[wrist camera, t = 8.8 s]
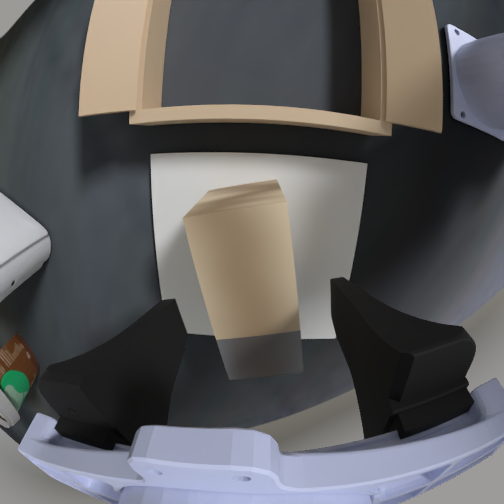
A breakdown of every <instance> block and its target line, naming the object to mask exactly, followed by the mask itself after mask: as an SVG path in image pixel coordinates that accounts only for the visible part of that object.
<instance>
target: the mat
mask: <svg viewBox="0 0 504 504" xmlns="http://www.w3.org/2000/svg"><path fill="white" fill-rule="evenodd" d="M366 172H367V164H366V163H360V162H353V161H345V160H337V159H328V158H319V157H308V156H296V155H283V154H266V153H239V152H185V153H159V154H151V186H152V206H153V221H154V234H155V245H156V255H157V265H158V273H159V281H160V289H161V296H162V300H165V299H176V302H177V305H178V308H179V311H180V314H181V316H182V319H183V322H184V325H185V327H186V330H187V333H190V334H201V335H214V331H213V328H212V325H211V322H210V318H209V315H208V312H207V308H206V305H205V301H204V298H203V294H202V291H201V287H200V284H199V280H198V277H197V273H196V269H195V265H194V262H193V258H192V254H191V250H190V246H189V242H188V238H187V234H186V230H185V226H184V222H183V217H184V216H185V215H186V214H187V213H188V212H189V211H190V210H191V209H192V208H193V206H194V205H195V204H196V203H197V202H198V201H199V200H200V199H201V198H202V197H203V196H204V195H205V194H206V193H207V192H208V191H209V190H213V189H219V188H224V187H230V186H236V185H242V184H249V183H255V182H262V181H269V180H276V179H277V181H278V183H279V185H280V188H281V190H282V192H283V194H284V196H285V199H286V201H287V206H288V214H289V222H290V230H291V239H292V247H293V256H294V266H295V275H296V285H297V296H298V306H299V318H300V330H301V339H332V338H335V337H336V333H335V330H334V326H333V322H332V318H331V290H330V279H333V278H339V277H344V278H346V279H347V280H349V279H350V275H351V270H352V265H353V260H354V254H355V249H356V243H357V238H358V232H359V225H360V219H361V212H362V205H363V198H364V190H365V181H366ZM214 336H215V335H214Z"/></svg>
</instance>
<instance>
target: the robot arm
mask: <svg viewBox="0 0 504 504" xmlns="http://www.w3.org/2000/svg"><path fill="white" fill-rule="evenodd" d="M455 32H456V33H455ZM445 33H446V40H447V48H448V58H449V70H450V91H451V115H452V117H453V118H454V119H456V120H458V121H461V122H463V123H466V124H468V125H470V126H473V127H475V128H477V129H479V130H482V131H484V132H486V133H488V134H490V135H492V136H494V137H496V138H498V139H500V140H502V141H504V33H501V34H497V35H493V36H489V37H485V38H481V39H478V40H477V39H475V38H473V37H472V36H470V35H468V34H467V33H465V32H463V31H462V30H460V29H458V28H456V27H454V26H452V25H450V24H447V25H445ZM461 113H462V117H461ZM330 290H331V318H332V322H333V326H334V330H335V333H336V336H337V338H338V341H339V343H340V346H341V348H342V351H343V353H344V356H345V359H346V361H347V364H348V366H349V369H350V372H351V375H352V378H353V382H354V386H355V390H356V395H357V399H358V404H359V409H360V415H361V420H362V426H363V432H364V439H363V440H359V441H355V442H351V443H346V444H341V445H336V446H330V447H325V448H319V449H312V450H305V451H297V452H280V451H279V448H278V444H277V442H276V441H275V440H274V439H273V438H272V437H271V436H270V435H269V434H267V433H264V432H260V431H258V430H255V429H247V428H235V427H231V428H203V427H179V426H167V419H168V411H169V404H170V398H171V393H172V389H173V385H174V382H175V378H176V375H177V372H178V369H179V366H180V363H181V359H182V356H183V353H184V349H185V344H186V337H187V330H186V327H185V325H184V322H183V319H182V316H181V314H180V311H179V308H178V305H177V302H176V299H165V300H162V301H161V302H159V303H158V304H157V305H155V306H154V307H153V308H152V309H150V310H149V311H148V312H147V313H146V314H144V315H143V316H142V317H141V318H140V319H138V320H137V321H136V322H135V323H133V324H132V325H131V326H129V327H128V328H127V329H125V330H124V331H123V332H121V333H120V334H119V335H117V336H116V337H114V338H113V339H111V340H109V341H108V342H106V343H104V344H103V345H101V346H99V347H97V348H95V349H93V350H91V351H89V352H87V353H85V354H82V355H80V356H77V357H75V358H72V359H69V360H66V361H63V362H59V363H56V364H52V365H49V366H48V368H47V369H46V370H45V372H44V373H43V375H42V376H41V378H40V379H39V381H38V387H39V390H40V392H41V394H42V395H43V397H44V398H45V399H46V401H47V402H48V403H49V404H50V405H51V406H52V408H53V409H54V410H55V411H56V412H57V413H58V414H59V415H60V418H59V420H58V421H57V420H55V419H54V418H52V417H50V416H47V415H44V414H41V413H37V414H36V416H35V418H34V420H33V421H32V423H31V425H30V427H29V429H28V430H27V432H26V434H25V436H24V438H23V440H22V442H21V444H20V445H19V448H18V450H19V452H21V453H22V454H23V455H24V456H26V457H27V458H28V459H29V460H30V461H31V462H32V463H34V464H35V465H36V466H38V467H39V468H40V469H41V470H43V471H44V472H45V473H47V474H48V475H50V476H51V477H53V478H54V479H56V480H58V481H60V482H62V483H64V484H66V485H68V486H71V487H73V488H75V489H77V490H79V491H81V492H84V493H86V494H88V495H90V496H93V497H95V498H97V499H100V500H102V501H105V502H107V503H110V504H398V503H401V502H404V501H406V500H409V499H411V498H413V497H416V496H418V495H420V494H422V493H425V492H427V491H429V490H431V489H433V488H435V487H437V486H439V485H441V484H443V483H445V482H447V481H448V480H450V479H452V478H454V477H456V476H458V475H459V474H461V473H463V472H465V471H467V470H468V469H470V468H472V467H473V466H475V465H476V464H478V463H480V462H481V461H483V460H485V459H486V458H488V457H489V456H491V455H492V454H493V453H494V452H495V451H496V450H497V449H498V448H499V447H500V446H501V445H502V444H503V443H504V389H503V387H502V386H501V384H500V383H499V381H498V380H497V378H494V379H492V380H490V381H488V382H486V383H484V384H482V385H480V386H478V387H477V388H475V389H474V390H473V391H472V392H471V393H469V392H468V390H467V388H466V387H467V386H468V385H469V382H468V380H467V379H466V377H465V376H466V374H467V371H468V369H469V367H470V365H471V363H472V361H473V358H474V355H475V352H476V345H475V342H474V340H473V339H472V338H471V337H470V335H469V334H468V333H467V332H466V331H465V329H464V328H463V327H462V326H454V325H446V324H440V323H435V322H431V321H427V320H423V319H419V318H416V317H414V316H411V315H408V314H405V313H403V312H400V311H398V310H396V309H394V308H391V307H389V306H387V305H386V304H384V303H382V302H380V301H379V300H377V299H375V298H373V297H372V296H370V295H369V294H367V293H366V292H364V291H363V290H361V289H360V288H358V287H357V286H356V285H354V284H353V283H351V282H350V281H349V280H347V279H346V278H344V277H339V278H333V279H330Z"/></svg>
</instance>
